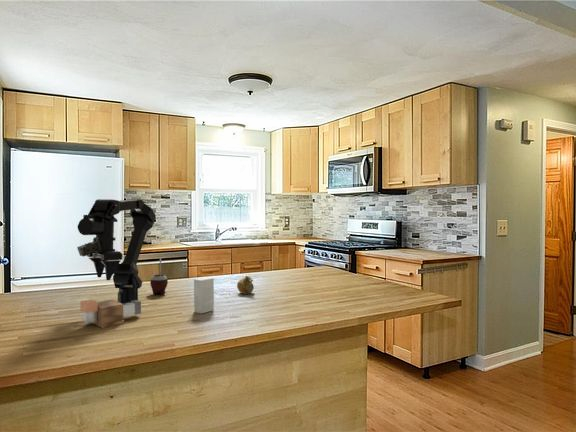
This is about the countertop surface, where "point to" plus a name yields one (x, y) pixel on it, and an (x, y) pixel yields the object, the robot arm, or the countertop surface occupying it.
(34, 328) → the countertop surface
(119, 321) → the block
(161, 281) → the mate gourd
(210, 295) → the skincare box
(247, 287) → the onion
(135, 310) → the shaft
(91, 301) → the block
